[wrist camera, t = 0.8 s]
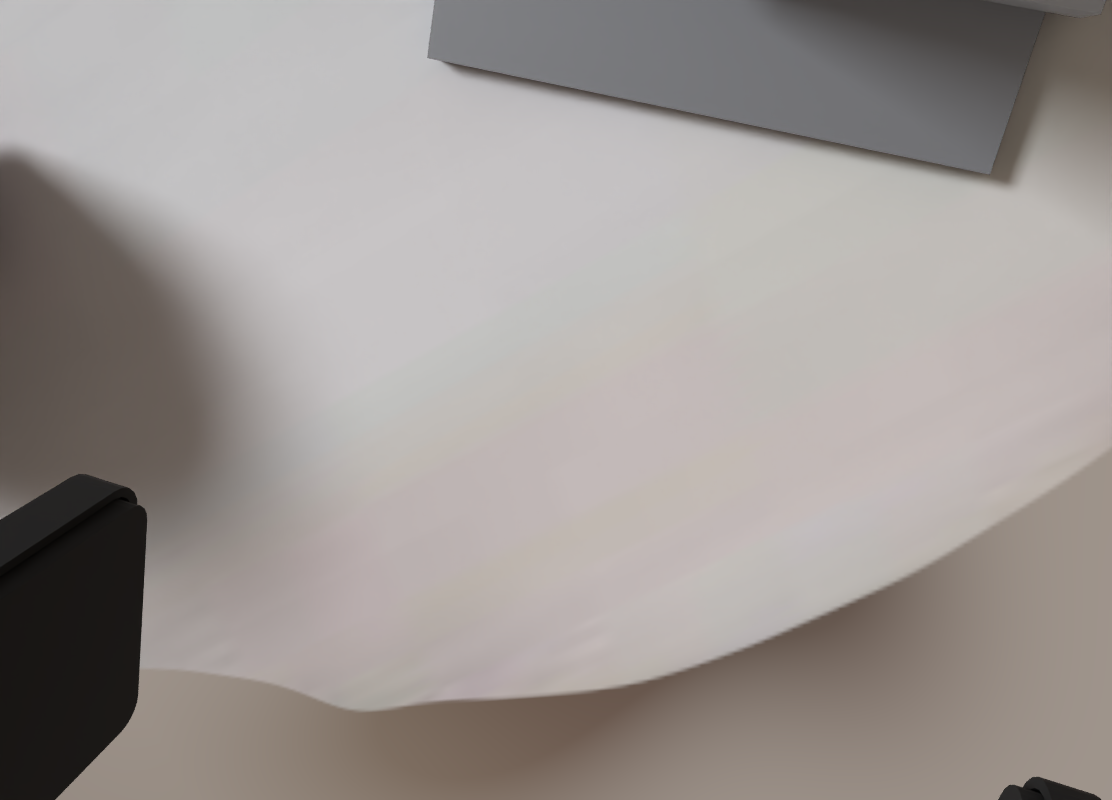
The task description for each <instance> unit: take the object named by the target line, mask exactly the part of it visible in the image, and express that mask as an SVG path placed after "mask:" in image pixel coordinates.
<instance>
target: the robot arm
mask: <svg viewBox="0 0 1112 800" xmlns="http://www.w3.org/2000/svg"><path fill="white" fill-rule="evenodd" d="M146 531H147V513H146V511H145V509H144V508H143V507H142V506H140V505H137V498H136V496H135V493H134V492H133V491H132V490H131V489H129V488H127V487H124V486H121V485H118V484H114V483H111V482H108V481H105V480H102V479H99V478H96V477H92V476H89V475H86V474H78V475H76V476H73V477H71V478H69V479H67V480H66V481H64V482H62V483H61V484H59V485H57V486H56V487H54V488H53V489H51V490H49V491H48V492H46V493H44V494H43V495H41V496H39V497H38V498H36V499H34V500H33V501H31V502H29V503H28V504H26V505H24V506H23V507H21V508H19V509H18V510H16V511H14V512H13V513H11V514H9V515H8V516H6V517H4V518H3V519H1V520H0V800H55V799H56V798H57V797H58V796H59V795H60V794H61V793H62V792H63V791H64V790H65V789H66V788H67V787H68V786H69V785H70V784H71V783H72V782H73V781H74V780H75V779H76V778H77V777H78V776H79V775H80V774H81V772H83V771H84V770H85V768H86V767H87V766H88V765H89V764H90V763H91V762H92V761H93V760H94V759H95V758H96V757H97V756H98V755H99V754H100V753H101V752H102V751H103V750H104V749H105V748H106V747H107V746H108V745H109V744H110V743H111V742H112V741H113V740H114V739H115V737H117V736H118V734H119V733H120V732H121V731H122V730H123V729H124V728H125V726H126V725H127V723H128V722H129V720H130V718H131V716H132V714H133V712H134V710H135V707H136V703H137V698H138V684H139V666H140V647H141V627H142V608H143V589H144V570H145V550H146ZM998 800H1101V799H1100V798H1099V797H1097V796H1096V795H1094V794H1091V793H1088V792H1084V791H1082V790H1078V789H1075V788H1072V787H1069V786H1066V785H1062V784H1059V783H1056V782H1053V781H1050V780H1047V779H1043V778H1040V777H1032V778H1031V779H1029V780H1028V781H1027V782H1026V783H1025V785H1024V786H1023V788H1022V787H1019V786H1016V785H1009V786H1008V787H1006V788H1005V789H1004V791H1003V792H1002V794H1001V795H1000V798H999V799H998Z"/></svg>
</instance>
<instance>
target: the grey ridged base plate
mask: <svg viewBox="0 0 1112 800" xmlns="http://www.w3.org/2000/svg"><path fill="white" fill-rule="evenodd" d="M1105 2H1106V0H435V2H434V10H433V18H432V26H431V33H430V41H429V49H428V57H427V58H430V59H435V60H440V61H444V62H449V63H454V64H459V65H464V66H469V67H473V68H478V69H483V70H488V71H493V72H498V73H502V74H507V75H512V76H517V77H522V78H526V79H531V80H536V81H541V82H546V83H551V84H555V85H560V86H565V87H570V88H575V89H579V90H584V91H589V92H594V93H599V94H604V95H608V96H613V97H618V98H623V99H628V100H633V101H637V102H642V103H647V104H652V105H657V106H661V107H666V108H671V109H676V110H681V111H686V112H690V113H695V114H700V115H705V116H710V117H714V118H719V119H724V120H729V121H734V122H739V123H743V124H748V125H753V126H758V127H763V128H767V129H772V130H777V131H782V132H787V133H792V134H796V135H801V136H806V137H811V138H816V139H821V140H825V141H830V142H835V143H840V144H845V145H849V146H854V147H859V148H864V149H869V150H874V151H878V152H883V153H888V154H893V155H898V156H902V157H907V158H912V159H917V160H922V161H927V162H931V163H936V164H941V165H946V166H951V167H956V168H960V169H965V170H970V171H975V172H980V173H984V174H989V175H990V173H991V170H992V167H993V164H994V161H995V158H996V155H997V152H998V149H999V146H1000V143H1001V140H1002V138H1003V135H1004V132H1005V129H1006V126H1007V123H1008V120H1009V117H1010V114H1011V111H1012V108H1013V105H1014V103H1015V100H1016V97H1017V94H1018V91H1019V88H1020V85H1021V82H1022V79H1023V76H1024V73H1025V70H1026V68H1027V65H1028V62H1029V59H1030V56H1031V53H1032V50H1033V47H1034V44H1035V41H1036V38H1037V35H1038V33H1039V30H1040V27H1041V24H1042V21H1043V18H1044V15H1045V12H1049V13H1055V14H1060V15H1066V16H1071V17H1077V18H1082V17H1088V16H1094V15H1100V14H1101V13H1102V10H1103V7H1104V5H1105Z"/></svg>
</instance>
